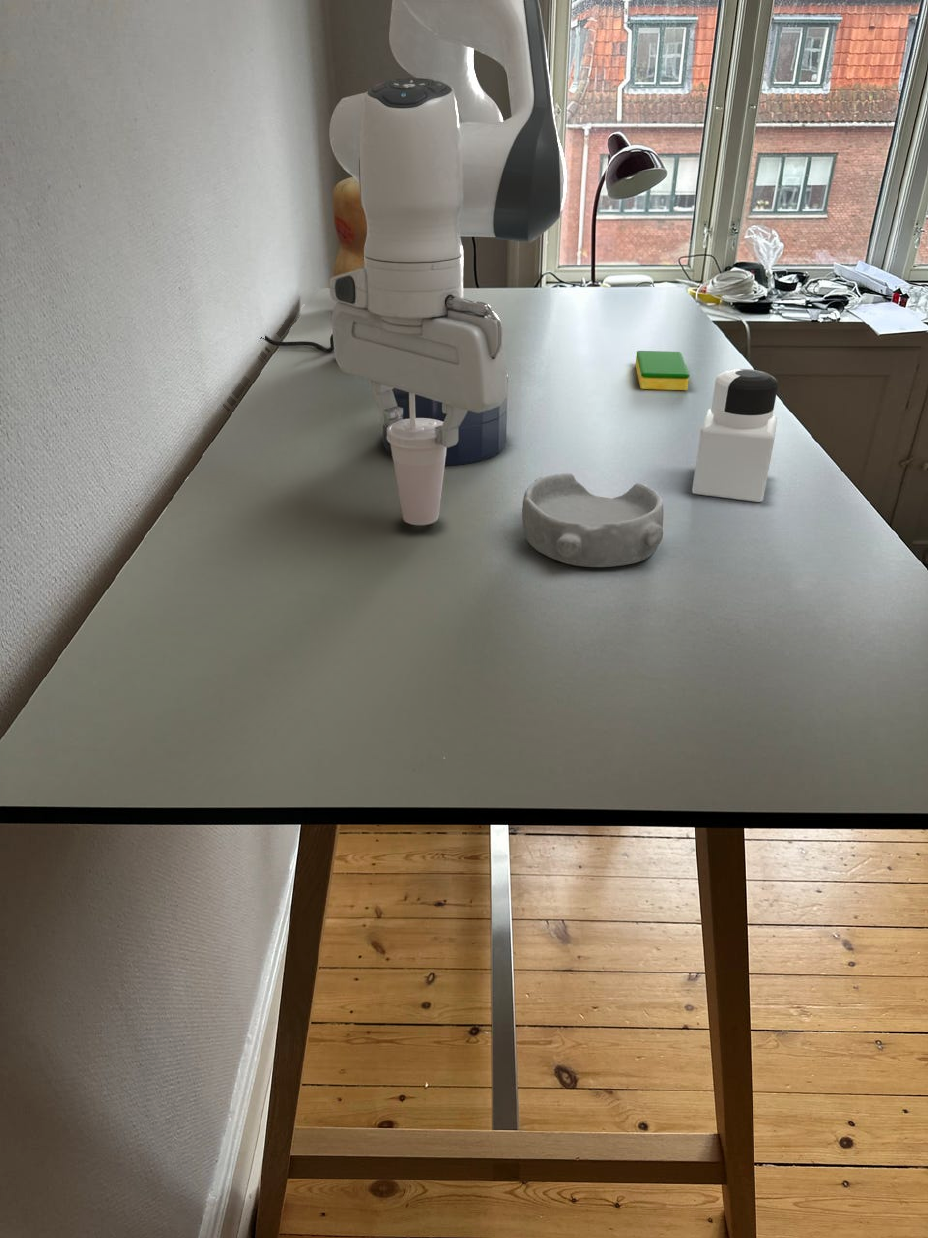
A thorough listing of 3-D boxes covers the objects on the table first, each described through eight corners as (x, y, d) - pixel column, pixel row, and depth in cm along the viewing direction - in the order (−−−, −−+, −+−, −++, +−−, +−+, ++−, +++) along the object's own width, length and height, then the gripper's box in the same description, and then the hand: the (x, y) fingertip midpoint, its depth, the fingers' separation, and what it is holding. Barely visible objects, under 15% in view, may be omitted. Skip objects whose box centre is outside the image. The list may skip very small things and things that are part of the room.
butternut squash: (323, 308, 184) (312, 174, 171) (374, 299, 191) (368, 170, 178) (364, 319, 175) (356, 178, 162) (416, 309, 183) (412, 174, 170)
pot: (359, 444, 114) (354, 374, 109) (443, 416, 124) (442, 350, 119) (446, 475, 105) (445, 400, 100) (530, 442, 115) (532, 372, 110)
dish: (519, 512, 96) (521, 469, 93) (648, 514, 95) (653, 470, 93) (523, 576, 83) (524, 527, 81) (671, 578, 83) (677, 529, 80)
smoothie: (389, 505, 95) (383, 375, 87) (449, 503, 95) (448, 374, 88) (390, 532, 89) (384, 395, 82) (453, 529, 90) (453, 394, 82)
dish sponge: (679, 366, 146) (681, 351, 145) (687, 390, 134) (689, 374, 133) (635, 364, 147) (636, 350, 145) (640, 389, 135) (641, 373, 134)
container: (765, 478, 104) (786, 367, 97) (762, 503, 98) (784, 387, 91) (698, 470, 106) (714, 361, 100) (691, 494, 100) (707, 379, 93)
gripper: (525, 300, 76) (519, 452, 84) (366, 269, 88) (374, 404, 95) (475, 312, 72) (474, 471, 80) (317, 278, 84) (328, 419, 92)
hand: (418, 434), depth 88 cm, fingers closed on smoothie, 6 cm apart
